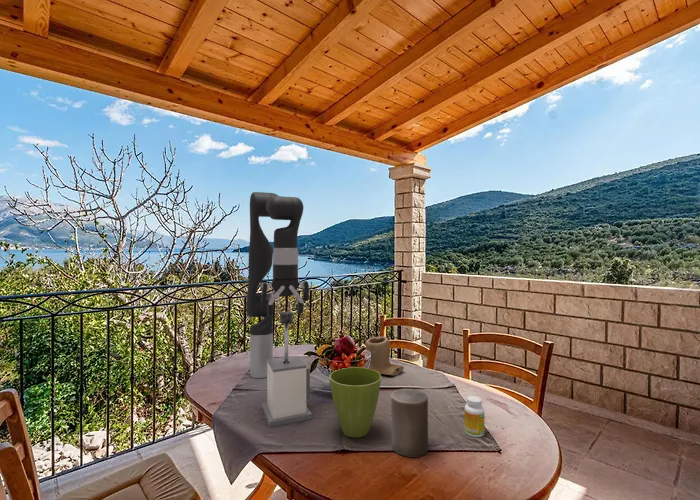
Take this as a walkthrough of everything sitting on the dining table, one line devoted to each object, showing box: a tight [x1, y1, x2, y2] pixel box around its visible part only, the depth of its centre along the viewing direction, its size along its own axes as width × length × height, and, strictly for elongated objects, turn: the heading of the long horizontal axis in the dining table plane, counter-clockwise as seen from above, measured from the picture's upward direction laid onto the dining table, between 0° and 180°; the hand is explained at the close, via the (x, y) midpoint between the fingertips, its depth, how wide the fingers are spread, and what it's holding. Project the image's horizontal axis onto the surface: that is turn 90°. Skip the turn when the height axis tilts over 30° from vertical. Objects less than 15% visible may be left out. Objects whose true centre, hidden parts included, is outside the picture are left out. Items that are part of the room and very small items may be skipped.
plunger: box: [279, 311, 294, 364], centre depth 112 cm, size 8×8×19 cm
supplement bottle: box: [463, 395, 485, 438], centre depth 101 cm, size 5×5×10 cm
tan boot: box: [364, 335, 404, 376], centre depth 148 cm, size 15×12×15 cm
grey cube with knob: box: [262, 355, 313, 428], centre depth 112 cm, size 13×14×16 cm
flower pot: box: [328, 366, 382, 438], centre depth 102 cm, size 15×15×16 cm
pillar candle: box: [390, 388, 429, 458], centre depth 93 cm, size 10×10×15 cm
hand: (285, 316), depth 107 cm, fingers open, 8 cm apart
